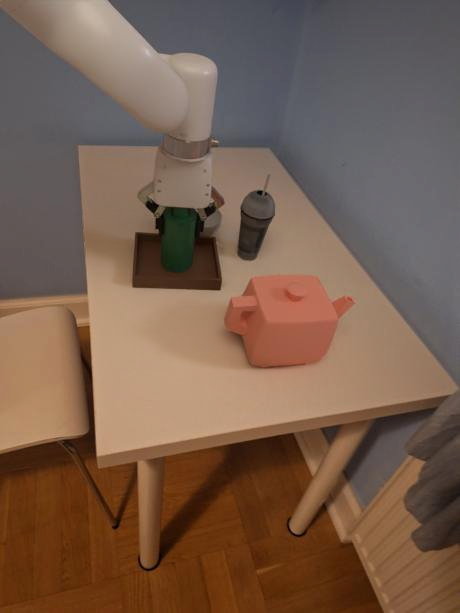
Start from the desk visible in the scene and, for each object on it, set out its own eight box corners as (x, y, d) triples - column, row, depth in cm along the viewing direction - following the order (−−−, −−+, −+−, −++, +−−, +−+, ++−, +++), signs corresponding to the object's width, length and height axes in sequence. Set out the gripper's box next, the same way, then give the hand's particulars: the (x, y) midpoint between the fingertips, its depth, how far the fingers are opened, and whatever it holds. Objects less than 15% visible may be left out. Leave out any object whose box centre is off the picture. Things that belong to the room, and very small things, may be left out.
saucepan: (177, 240, 90) (178, 226, 88) (168, 197, 102) (169, 183, 100) (224, 240, 93) (226, 226, 90) (209, 198, 105) (211, 184, 102)
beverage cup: (256, 243, 94) (276, 162, 80) (267, 263, 90) (291, 181, 76) (227, 245, 92) (242, 162, 78) (237, 266, 87) (256, 182, 73)
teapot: (321, 316, 81) (347, 261, 71) (346, 368, 72) (379, 314, 62) (213, 320, 75) (225, 262, 65) (226, 377, 67) (242, 320, 57)
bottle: (160, 272, 81) (164, 202, 70) (160, 252, 85) (163, 183, 74) (192, 273, 82) (201, 205, 71) (191, 253, 87) (198, 186, 75)
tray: (132, 287, 78) (132, 276, 76) (135, 242, 88) (135, 231, 86) (220, 290, 81) (222, 280, 79) (213, 246, 91) (215, 236, 89)
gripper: (235, 138, 70) (220, 224, 83) (132, 127, 67) (133, 218, 79) (241, 158, 65) (224, 247, 78) (130, 147, 62) (132, 242, 74)
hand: (178, 232), depth 78 cm, fingers closed on bottle, 6 cm apart
